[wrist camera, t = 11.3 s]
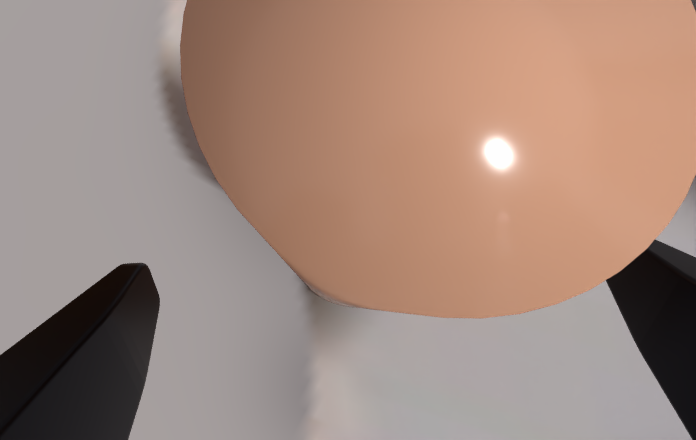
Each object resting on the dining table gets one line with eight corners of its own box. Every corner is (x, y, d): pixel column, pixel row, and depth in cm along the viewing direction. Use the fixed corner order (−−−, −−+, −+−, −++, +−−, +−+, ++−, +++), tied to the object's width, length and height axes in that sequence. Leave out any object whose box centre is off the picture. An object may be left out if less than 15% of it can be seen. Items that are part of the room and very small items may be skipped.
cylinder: (438, 241, 17) (803, 43, 4) (357, 333, 16) (495, 456, 3) (349, 161, 18) (424, -247, 5) (265, 247, 17) (59, 46, 4)
